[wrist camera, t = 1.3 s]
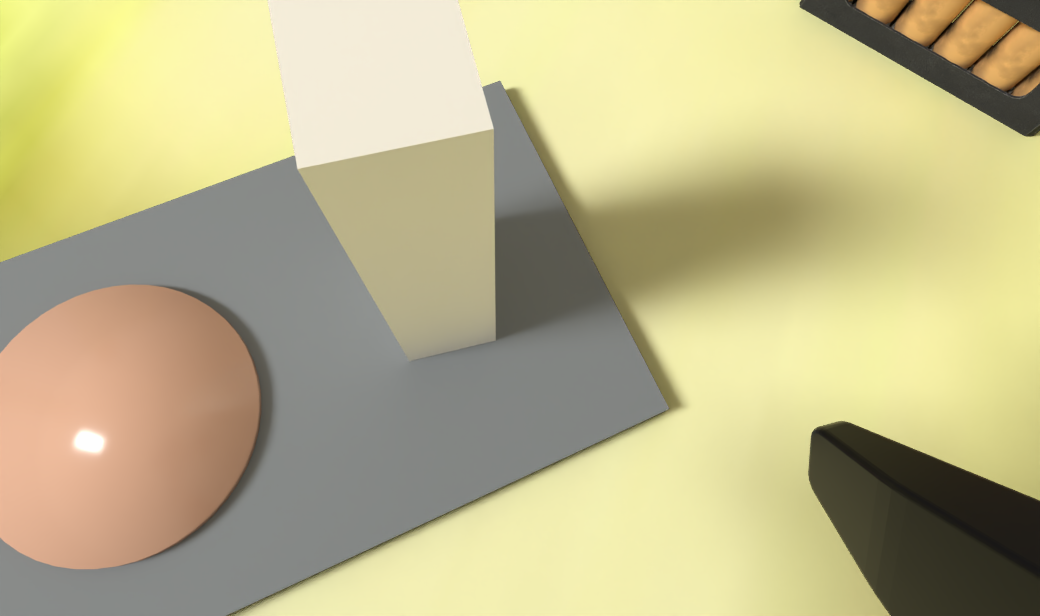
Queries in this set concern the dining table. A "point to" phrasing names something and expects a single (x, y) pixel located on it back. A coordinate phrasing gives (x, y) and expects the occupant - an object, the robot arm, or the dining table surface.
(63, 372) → the pink disc
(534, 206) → the rubber mat
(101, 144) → the dining table surface
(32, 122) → the dining table surface
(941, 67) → the ammunition clip
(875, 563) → the robot arm
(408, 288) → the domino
